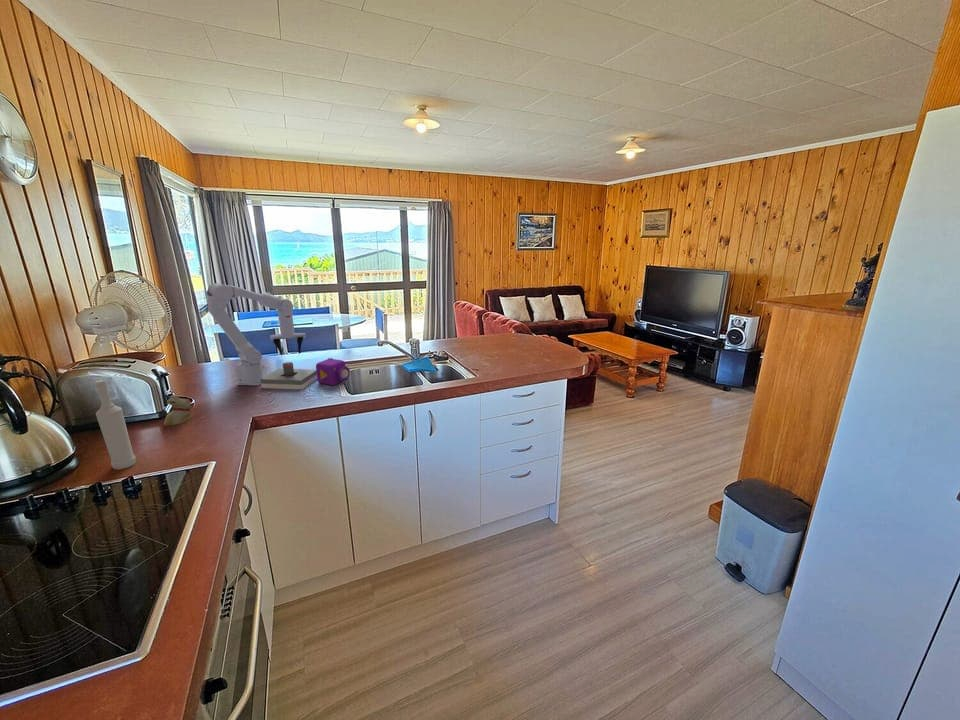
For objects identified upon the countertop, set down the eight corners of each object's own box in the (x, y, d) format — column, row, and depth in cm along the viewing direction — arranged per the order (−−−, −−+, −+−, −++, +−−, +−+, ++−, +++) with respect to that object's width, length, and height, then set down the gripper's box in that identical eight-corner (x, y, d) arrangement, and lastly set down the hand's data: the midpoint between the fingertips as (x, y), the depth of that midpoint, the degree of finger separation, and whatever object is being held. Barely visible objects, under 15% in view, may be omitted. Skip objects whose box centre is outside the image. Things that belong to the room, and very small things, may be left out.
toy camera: (343, 387, 169) (341, 365, 166) (314, 385, 172) (311, 363, 169) (355, 379, 179) (353, 358, 176) (328, 377, 182) (326, 356, 179)
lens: (282, 380, 171) (280, 364, 169) (287, 377, 175) (285, 362, 173) (292, 380, 171) (289, 365, 169) (296, 377, 175) (294, 362, 173)
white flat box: (261, 387, 168) (260, 379, 167) (280, 376, 181) (278, 368, 180) (302, 389, 166) (301, 380, 165) (318, 378, 180) (317, 369, 179)
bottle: (122, 460, 113) (97, 377, 106) (141, 459, 114) (118, 377, 106) (107, 470, 108) (80, 384, 101) (127, 469, 109) (102, 384, 101)
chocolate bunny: (192, 421, 137) (186, 395, 134) (163, 427, 133) (156, 399, 130) (193, 416, 141) (187, 389, 138) (165, 421, 137) (159, 394, 134)
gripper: (267, 327, 174) (272, 357, 178) (303, 325, 179) (307, 354, 183) (269, 324, 180) (274, 353, 184) (304, 322, 185) (307, 350, 189)
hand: (290, 353), depth 184 cm, fingers open, 7 cm apart
